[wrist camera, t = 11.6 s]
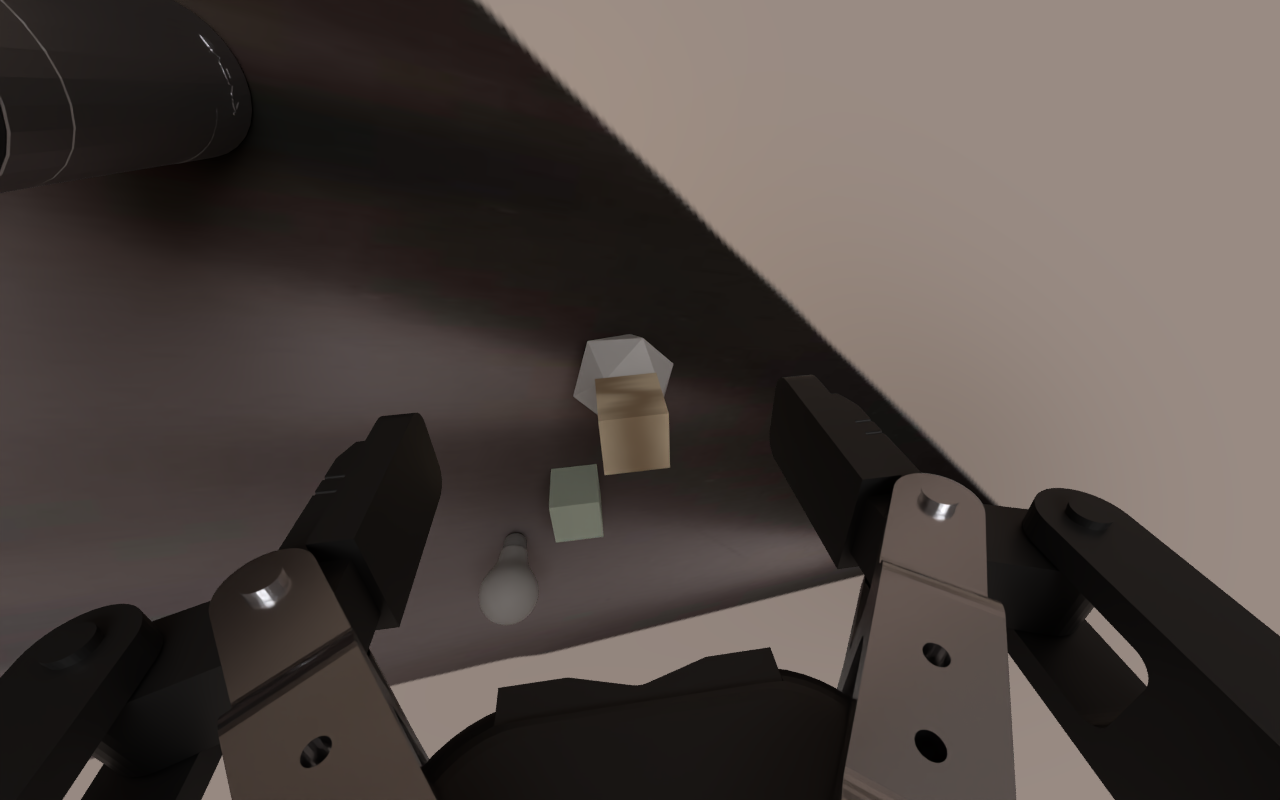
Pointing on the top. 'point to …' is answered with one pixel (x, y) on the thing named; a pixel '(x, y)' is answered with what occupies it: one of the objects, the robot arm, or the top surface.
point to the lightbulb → (509, 585)
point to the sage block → (575, 503)
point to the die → (618, 364)
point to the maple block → (632, 423)
